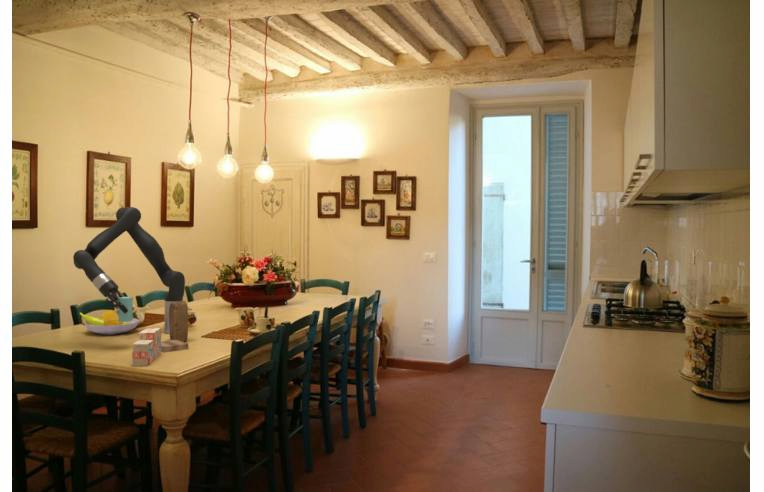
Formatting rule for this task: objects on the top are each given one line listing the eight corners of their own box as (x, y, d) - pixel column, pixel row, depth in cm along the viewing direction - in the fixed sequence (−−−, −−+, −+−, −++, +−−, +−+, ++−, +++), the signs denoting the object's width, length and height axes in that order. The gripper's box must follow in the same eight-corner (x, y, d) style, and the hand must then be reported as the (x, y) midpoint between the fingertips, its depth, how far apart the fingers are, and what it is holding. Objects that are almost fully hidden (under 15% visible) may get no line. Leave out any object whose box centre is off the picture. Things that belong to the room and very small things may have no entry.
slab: (177, 345, 278) (177, 339, 278) (188, 349, 269) (188, 343, 269) (152, 349, 270) (152, 342, 270) (163, 353, 261) (163, 347, 261)
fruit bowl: (146, 328, 319) (146, 308, 318) (125, 337, 292) (126, 315, 291) (95, 327, 318) (95, 307, 317) (70, 337, 291) (70, 315, 290)
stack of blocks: (147, 366, 237) (147, 336, 236) (132, 366, 236) (132, 336, 236) (161, 354, 258) (161, 327, 258) (146, 354, 257) (146, 327, 257)
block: (188, 342, 285) (189, 302, 284) (173, 343, 280) (174, 303, 279) (181, 338, 293) (182, 299, 292) (167, 339, 289) (167, 300, 288)
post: (123, 319, 270) (123, 296, 269) (132, 320, 269) (132, 297, 269) (118, 321, 265) (118, 298, 265) (127, 321, 265) (127, 298, 264)
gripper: (101, 281, 260) (126, 308, 259) (119, 277, 274) (142, 303, 274) (90, 292, 261) (115, 319, 260) (108, 288, 275) (132, 314, 274)
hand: (129, 311), depth 267 cm, fingers closed on post, 4 cm apart
